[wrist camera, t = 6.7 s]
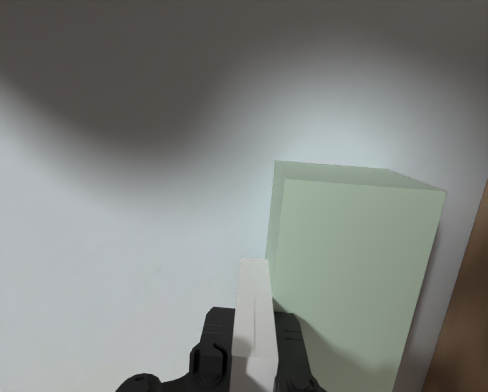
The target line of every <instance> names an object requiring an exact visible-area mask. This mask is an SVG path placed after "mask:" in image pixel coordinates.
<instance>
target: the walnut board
mask: <svg viewBox="0 0 488 392" xmlns="http://www.w3.org/2000/svg"><path fill="white" fill-rule="evenodd" d="M422 392H488V180H487V184H486V187H485V190H484V193H483V196H482V200H481V203H480V206H479V209H478V213H477V216H476V219H475V222H474V226H473V229H472V232H471V235H470V239H469V242H468V245H467V248H466V251H465V255H464V258H463V261H462V264H461V268H460V271H459V274H458V277H457V281H456V284H455V287H454V290H453V294H452V297H451V300H450V303H449V307H448V310H447V313H446V316H445V319H444V323H443V326H442V329H441V332H440V336H439V339H438V342H437V345H436V349H435V352H434V355H433V358H432V362H431V365H430V368H429V371H428V375H427V378H426V381H425V384H424V387H423V391H422Z"/></svg>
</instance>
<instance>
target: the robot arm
mask: <svg viewBox="0 0 488 392" xmlns="http://www.w3.org/2000/svg"><path fill="white" fill-rule="evenodd" d="M116 392H327V391H326V390H325V389H323V388H322V387H321V386H320V385H319V384H318V381H317V380H316V379H315V377H314V376H313V375H312V373H311V369H310V365H309V360H308V356H307V352H306V347H305V343H304V339H303V334H302V330H301V326H300V322H299V320H298V319H297V318H296V317H295V315H294V314H293V313H284V312H274V311H273V303H272V294H271V285H270V276H269V266H268V260H267V259H256V258H245V257H240V267H239V278H238V288H237V299H236V309H232V308H221V307H213V308H212V309H211V310H210V311H209V312H208V313H207V314H206V319H205V323H204V327H203V331H202V335H201V339H200V343H198V344H197V345H196V346H195V347H193V349H192V351H191V353H190V363H189V372H188V373H187V374H186V375H184V376H183V377H181V378H179V379H176V380H173V381H168V382H163V383H161V382H160V380H159V378H158V377H156V376H154V375H153V374H147V373H142V374H137V375H134V376H132V377H130V378H128V379H127V380H126V381H125V382H124V383H122V384H121V385H120V386H119V388H118V389H117V390H116Z"/></svg>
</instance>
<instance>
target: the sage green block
mask: <svg viewBox="0 0 488 392" xmlns="http://www.w3.org/2000/svg"><path fill="white" fill-rule="evenodd" d="M446 194H447V191H444V190H442V189H439V188H436V187H434V186H431V185H428V184H426V183H423V182H420V181H418V180H415V179H412V178H410V177H407V176H404V175H402V174H399V173H396V172H394V171H391V170H388V169H381V168H368V167H354V166H341V165H328V164H315V163H302V162H289V161H276V160H275V168H274V178H273V188H272V197H271V207H270V217H269V227H268V236H267V246H266V256H265V259H267V260H268V266H269V276H270V285H271V294H272V303H273V311H274V312H284V313H293V314H294V315H295V317H296V318H297V319H298V320H299V322H300V326H301V330H302V334H303V339H304V343H305V347H306V352H307V356H308V360H309V365H310V369H311V373H312V375H313V376H314V377H315V379H316V380H317V381H318V384H319V385H320V386H321V387H322V388H323V389H325V390H326V391H327V392H392V391H393V387H394V383H395V380H396V376H397V373H398V369H399V365H400V362H401V358H402V354H403V351H404V347H405V343H406V340H407V336H408V332H409V329H410V325H411V322H412V318H413V314H414V311H415V307H416V303H417V300H418V296H419V292H420V289H421V285H422V282H423V278H424V274H425V271H426V267H427V263H428V260H429V256H430V252H431V249H432V245H433V242H434V238H435V234H436V231H437V227H438V223H439V220H440V216H441V212H442V209H443V205H444V201H445V198H446Z"/></svg>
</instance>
